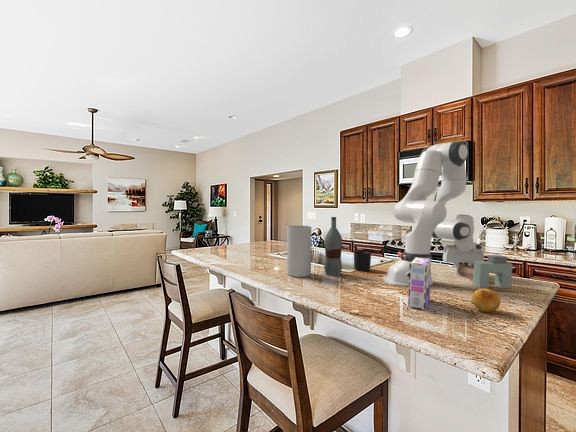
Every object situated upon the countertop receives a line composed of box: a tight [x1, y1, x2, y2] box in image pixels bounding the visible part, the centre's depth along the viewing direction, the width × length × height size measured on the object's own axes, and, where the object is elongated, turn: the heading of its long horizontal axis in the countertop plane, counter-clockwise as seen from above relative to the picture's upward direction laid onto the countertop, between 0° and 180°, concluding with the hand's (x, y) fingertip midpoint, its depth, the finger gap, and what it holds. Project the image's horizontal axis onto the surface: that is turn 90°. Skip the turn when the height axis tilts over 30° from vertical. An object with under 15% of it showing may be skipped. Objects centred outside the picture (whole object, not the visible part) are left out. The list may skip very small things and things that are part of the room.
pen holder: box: [353, 250, 372, 272], centre depth 168 cm, size 9×9×10 cm
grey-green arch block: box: [472, 254, 513, 289], centre depth 136 cm, size 14×5×14 cm, turn 90°
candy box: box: [407, 258, 432, 311], centre depth 112 cm, size 14×6×16 cm, turn 148°
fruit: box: [471, 288, 501, 313], centre depth 105 cm, size 8×8×8 cm
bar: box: [456, 263, 474, 281], centre depth 151 cm, size 4×20×5 cm, turn 0°
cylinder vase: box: [286, 225, 312, 278], centre depth 155 cm, size 12×12×25 cm
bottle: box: [323, 216, 343, 277], centre depth 157 cm, size 9×9×30 cm
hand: (462, 270), depth 159 cm, fingers closed on bar, 4 cm apart
